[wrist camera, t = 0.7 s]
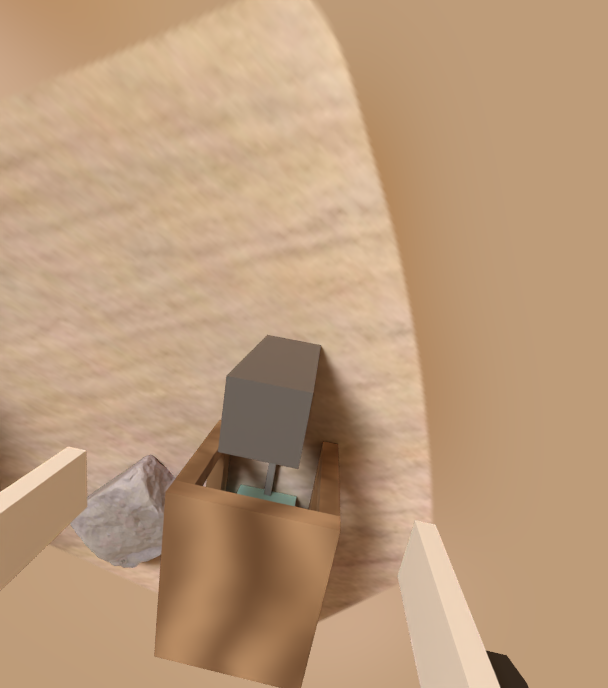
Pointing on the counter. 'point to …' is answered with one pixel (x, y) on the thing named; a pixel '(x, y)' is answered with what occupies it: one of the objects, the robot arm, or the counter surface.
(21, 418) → the counter surface
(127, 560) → the stone block
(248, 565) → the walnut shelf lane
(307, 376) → the tethered block
